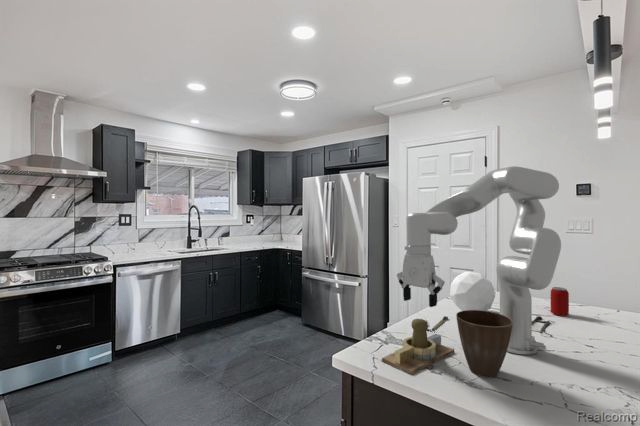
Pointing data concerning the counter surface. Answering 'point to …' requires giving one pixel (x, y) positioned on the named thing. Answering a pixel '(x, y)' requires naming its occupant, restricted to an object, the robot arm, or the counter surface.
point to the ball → (472, 292)
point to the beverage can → (559, 301)
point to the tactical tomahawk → (438, 324)
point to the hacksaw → (543, 326)
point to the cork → (419, 333)
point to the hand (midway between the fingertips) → (419, 303)
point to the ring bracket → (417, 350)
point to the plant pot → (484, 340)
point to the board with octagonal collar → (417, 365)
